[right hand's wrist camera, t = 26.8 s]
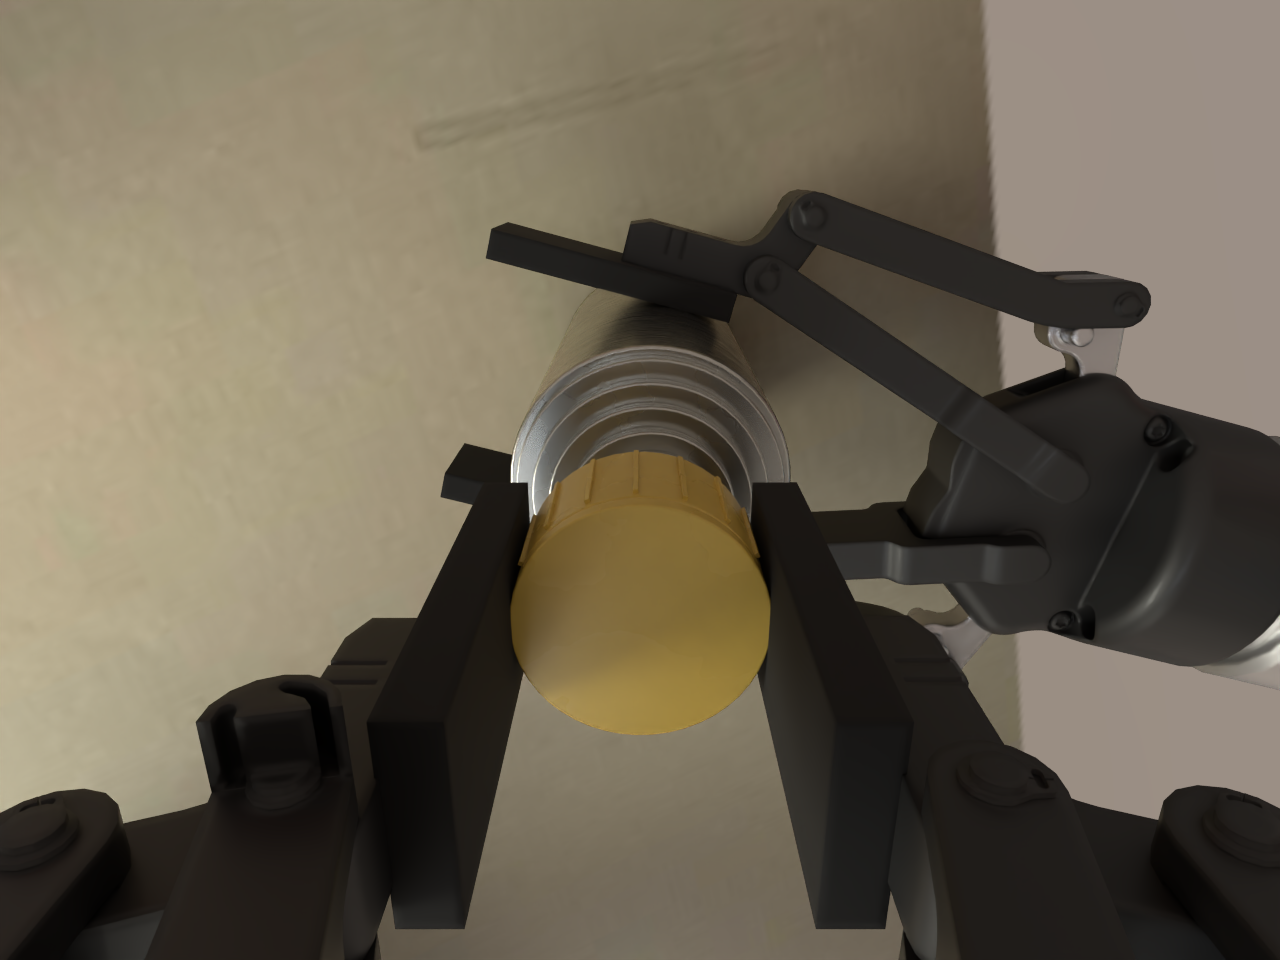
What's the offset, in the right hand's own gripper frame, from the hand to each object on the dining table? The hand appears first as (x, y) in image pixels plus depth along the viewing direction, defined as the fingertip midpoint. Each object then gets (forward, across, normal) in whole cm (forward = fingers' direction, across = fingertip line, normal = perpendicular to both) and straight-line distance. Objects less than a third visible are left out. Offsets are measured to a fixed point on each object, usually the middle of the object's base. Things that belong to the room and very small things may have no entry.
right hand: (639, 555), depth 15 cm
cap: (-2, 0, 0) cm, 2 cm away
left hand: (+10, -5, +1) cm, 11 cm away
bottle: (+17, 0, 0) cm, 17 cm away
